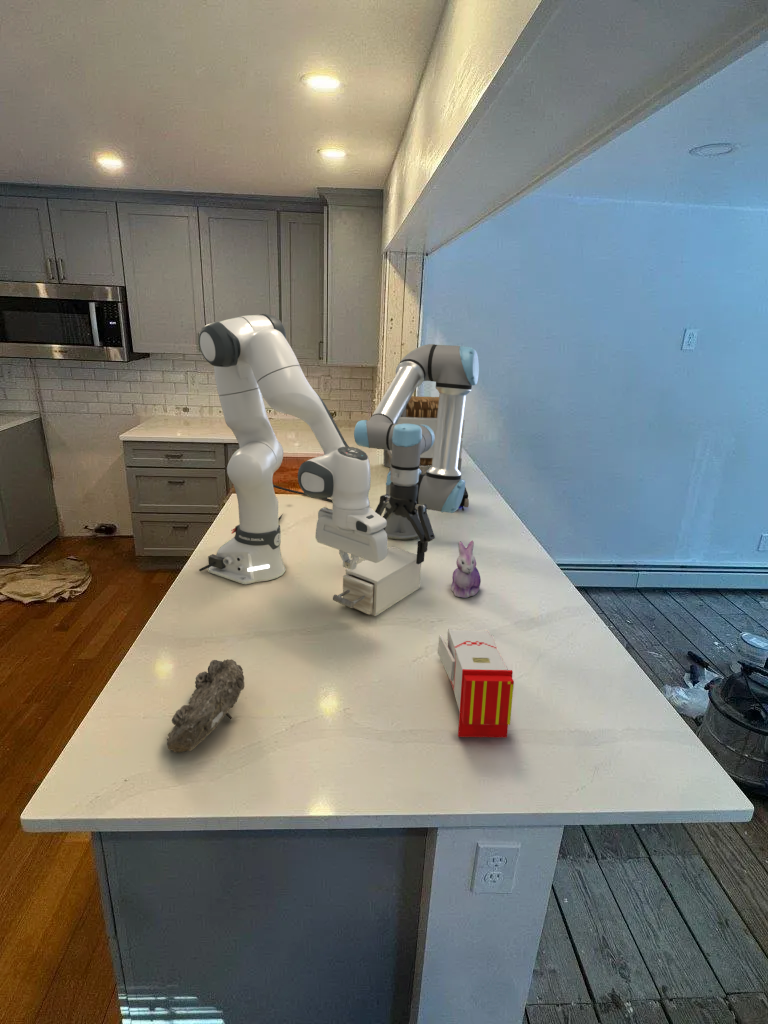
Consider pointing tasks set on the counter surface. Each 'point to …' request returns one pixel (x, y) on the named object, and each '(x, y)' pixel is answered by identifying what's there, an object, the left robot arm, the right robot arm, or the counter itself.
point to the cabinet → (390, 577)
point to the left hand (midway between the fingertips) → (349, 567)
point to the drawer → (357, 594)
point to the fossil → (206, 705)
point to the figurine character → (464, 500)
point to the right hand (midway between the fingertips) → (399, 555)
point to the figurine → (466, 573)
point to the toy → (478, 682)
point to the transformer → (422, 414)
